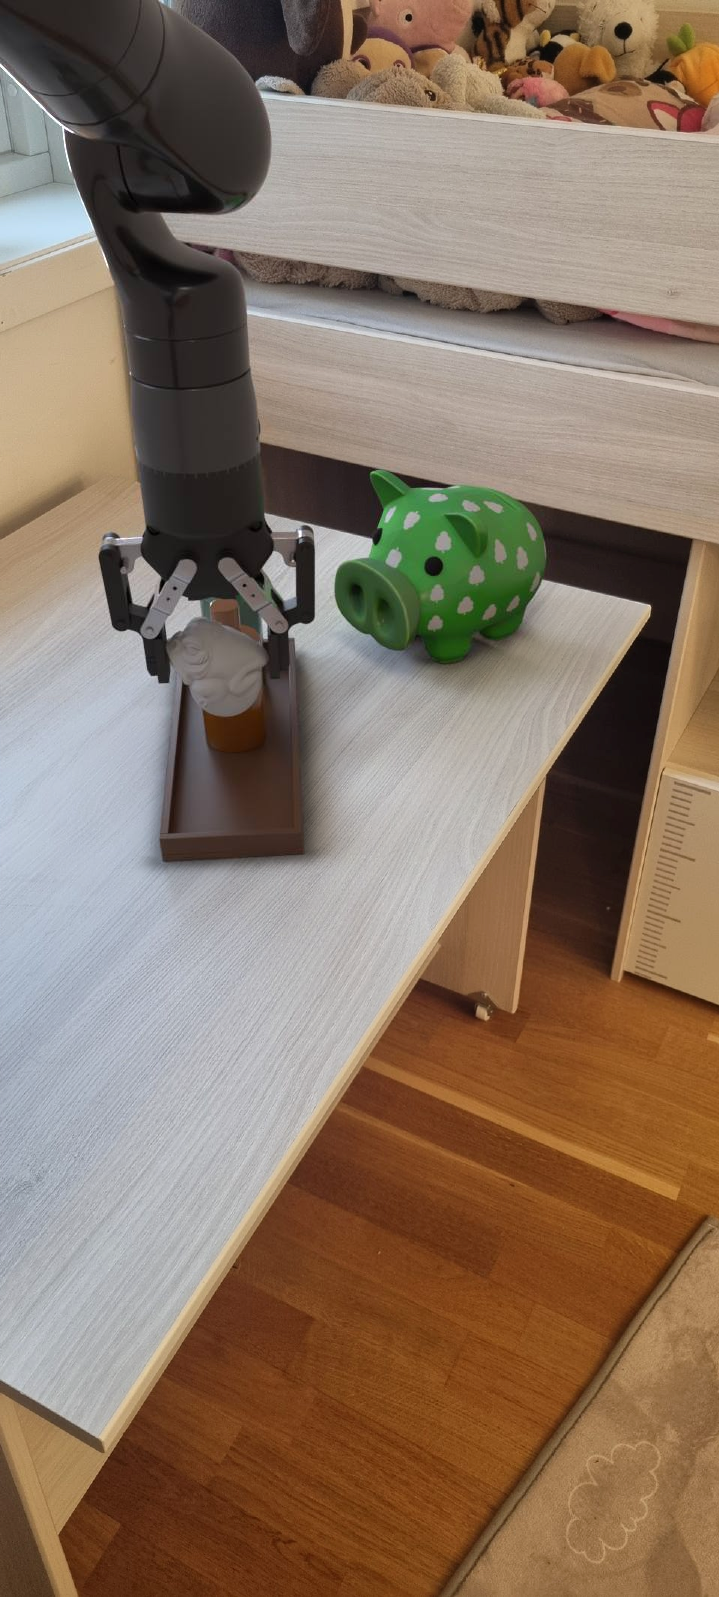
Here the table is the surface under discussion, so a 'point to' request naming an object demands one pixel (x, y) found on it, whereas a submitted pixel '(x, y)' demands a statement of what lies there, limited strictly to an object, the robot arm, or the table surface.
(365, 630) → the piggy bank
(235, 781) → the tray
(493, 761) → the table surface
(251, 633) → the amber bottle
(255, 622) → the green bottle
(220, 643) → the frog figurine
